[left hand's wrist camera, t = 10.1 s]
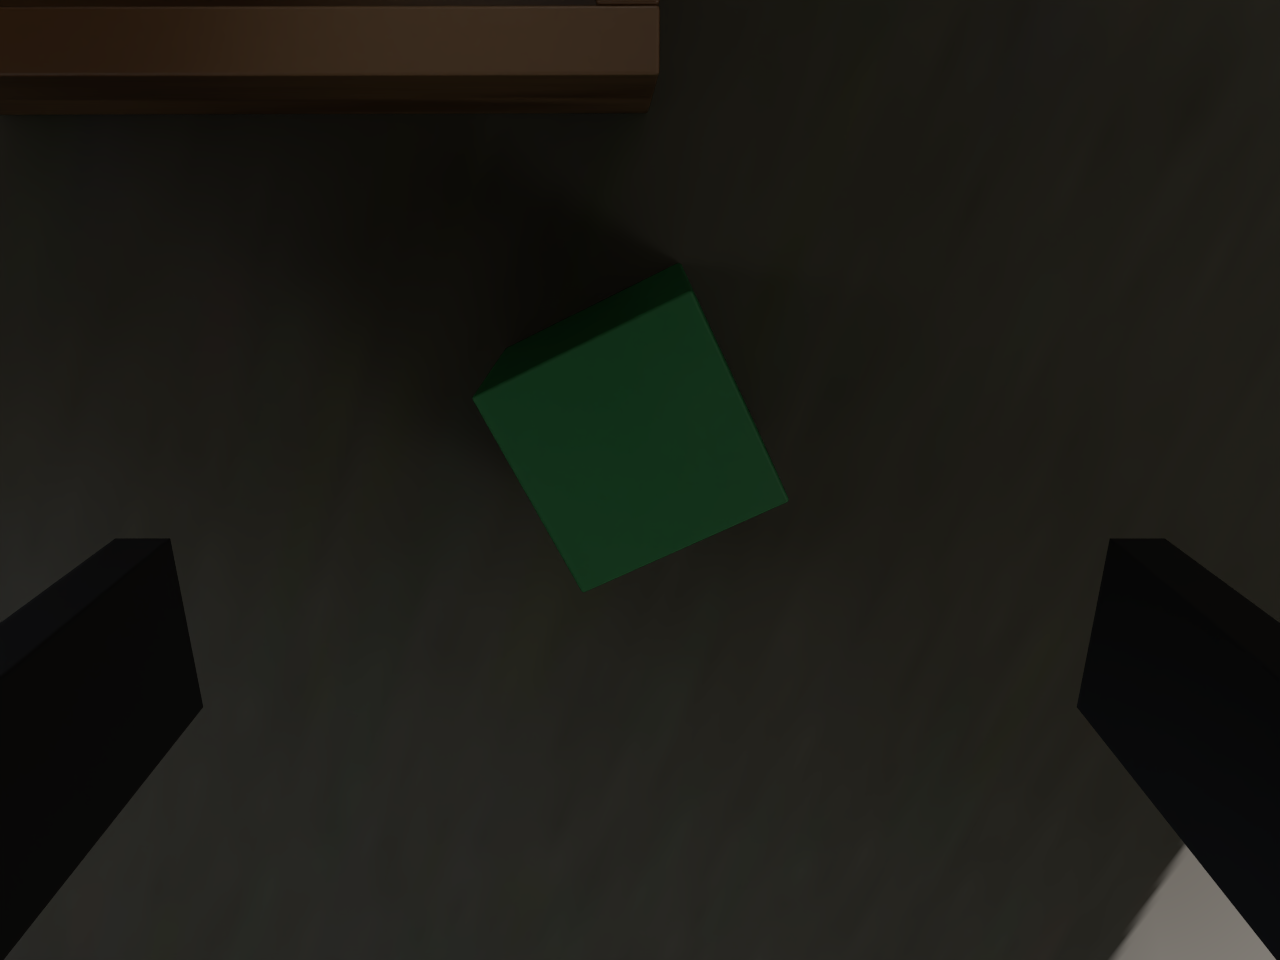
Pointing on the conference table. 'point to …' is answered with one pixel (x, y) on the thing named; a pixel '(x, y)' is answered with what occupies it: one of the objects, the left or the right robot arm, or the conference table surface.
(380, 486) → the conference table surface
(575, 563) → the block
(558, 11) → the chest
